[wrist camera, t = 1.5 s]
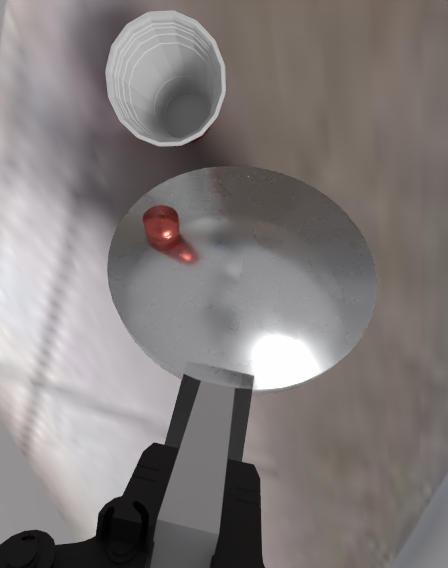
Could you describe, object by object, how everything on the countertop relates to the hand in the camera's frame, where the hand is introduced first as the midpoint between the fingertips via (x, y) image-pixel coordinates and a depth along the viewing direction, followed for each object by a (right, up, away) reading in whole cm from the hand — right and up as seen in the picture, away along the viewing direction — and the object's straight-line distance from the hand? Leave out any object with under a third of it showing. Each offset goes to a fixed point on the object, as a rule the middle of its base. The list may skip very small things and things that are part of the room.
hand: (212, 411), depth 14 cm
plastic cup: (-4, +26, +26) cm, 37 cm away
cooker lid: (+2, +5, +9) cm, 11 cm away
